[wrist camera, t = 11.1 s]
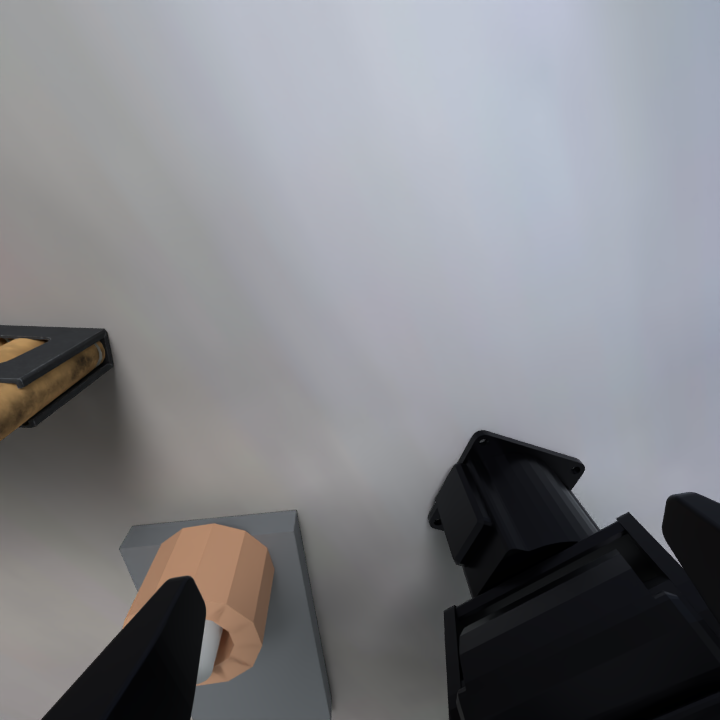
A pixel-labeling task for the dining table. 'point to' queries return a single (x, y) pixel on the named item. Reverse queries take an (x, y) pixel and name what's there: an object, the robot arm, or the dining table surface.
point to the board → (282, 631)
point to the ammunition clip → (46, 370)
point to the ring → (219, 588)
